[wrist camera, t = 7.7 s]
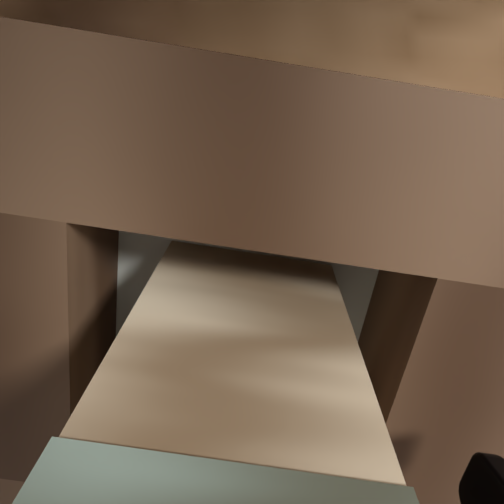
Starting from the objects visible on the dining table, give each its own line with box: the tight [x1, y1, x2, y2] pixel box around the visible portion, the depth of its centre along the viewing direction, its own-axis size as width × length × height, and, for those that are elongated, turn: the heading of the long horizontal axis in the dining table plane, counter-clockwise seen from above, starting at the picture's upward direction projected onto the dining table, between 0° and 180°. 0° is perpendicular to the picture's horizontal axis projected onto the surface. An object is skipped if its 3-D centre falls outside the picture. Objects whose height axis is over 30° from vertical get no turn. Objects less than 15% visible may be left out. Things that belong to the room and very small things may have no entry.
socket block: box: [0, 17, 504, 504], centre depth 10 cm, size 12×12×4 cm
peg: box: [12, 241, 419, 504], centre depth 8 cm, size 4×4×7 cm
